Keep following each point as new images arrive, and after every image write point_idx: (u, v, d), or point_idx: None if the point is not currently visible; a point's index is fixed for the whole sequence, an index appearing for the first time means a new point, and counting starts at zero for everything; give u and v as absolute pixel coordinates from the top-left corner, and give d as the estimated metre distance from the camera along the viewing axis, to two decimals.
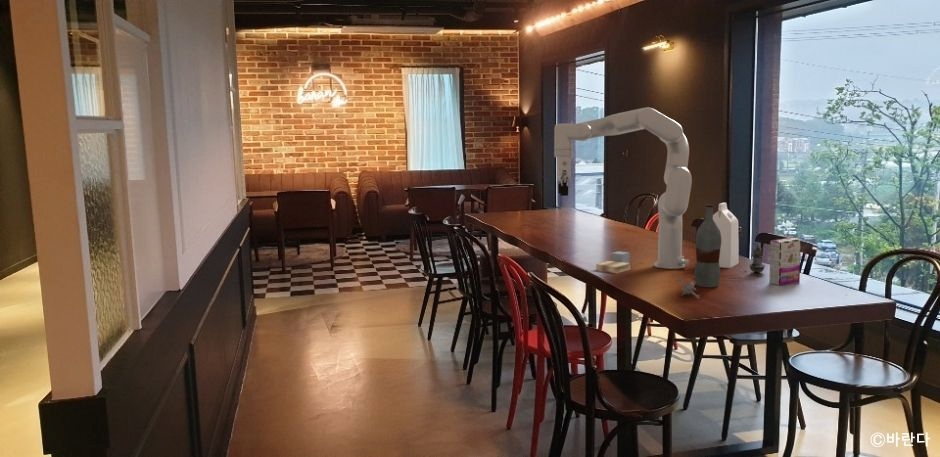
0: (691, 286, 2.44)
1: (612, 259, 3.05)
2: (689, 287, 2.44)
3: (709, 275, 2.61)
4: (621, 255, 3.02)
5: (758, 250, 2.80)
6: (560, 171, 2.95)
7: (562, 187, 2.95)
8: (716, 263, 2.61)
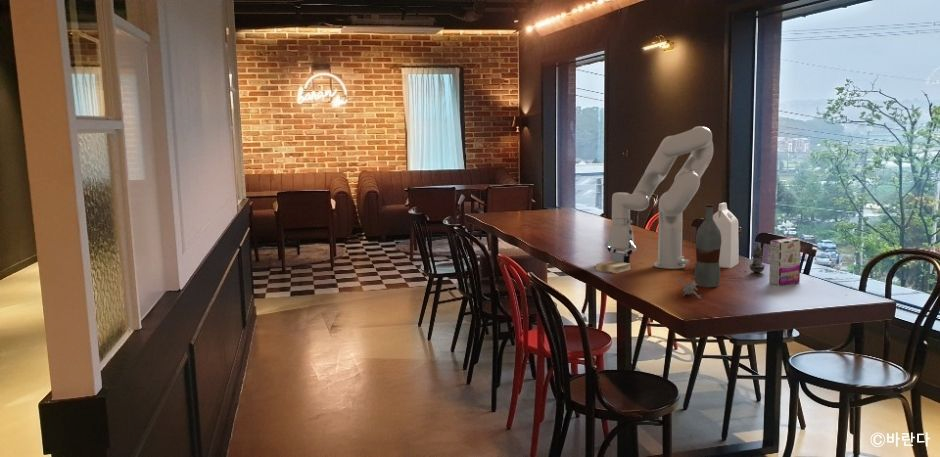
0: (693, 286, 2.44)
1: (612, 259, 3.05)
2: (691, 287, 2.44)
3: (709, 275, 2.61)
4: (621, 255, 3.02)
5: (758, 250, 2.80)
6: (628, 240, 3.00)
7: (626, 257, 3.02)
8: (716, 263, 2.61)
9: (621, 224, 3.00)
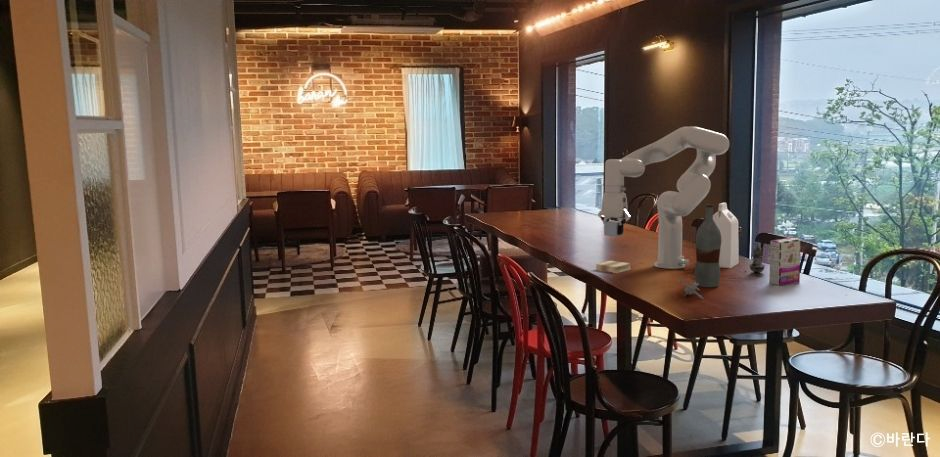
0: (695, 286, 2.44)
1: (605, 228, 2.94)
2: (693, 287, 2.44)
3: (709, 275, 2.61)
4: (614, 224, 2.90)
5: (758, 250, 2.80)
6: (622, 208, 2.88)
7: (620, 226, 2.91)
8: (716, 263, 2.61)
9: (614, 192, 2.88)
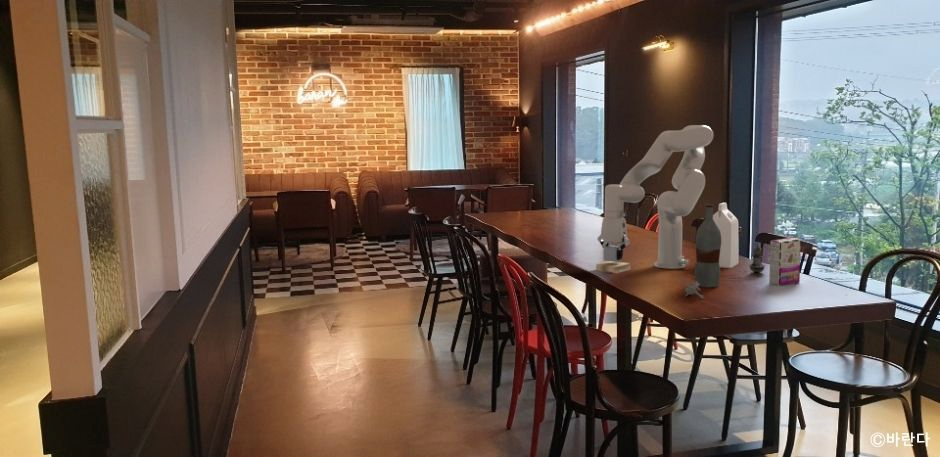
0: (696, 286, 2.43)
1: (604, 253, 2.95)
2: (694, 287, 2.43)
3: (709, 275, 2.61)
4: (614, 249, 2.92)
5: (758, 250, 2.80)
6: (621, 233, 2.90)
7: (619, 251, 2.92)
8: (716, 263, 2.61)
9: (614, 217, 2.90)
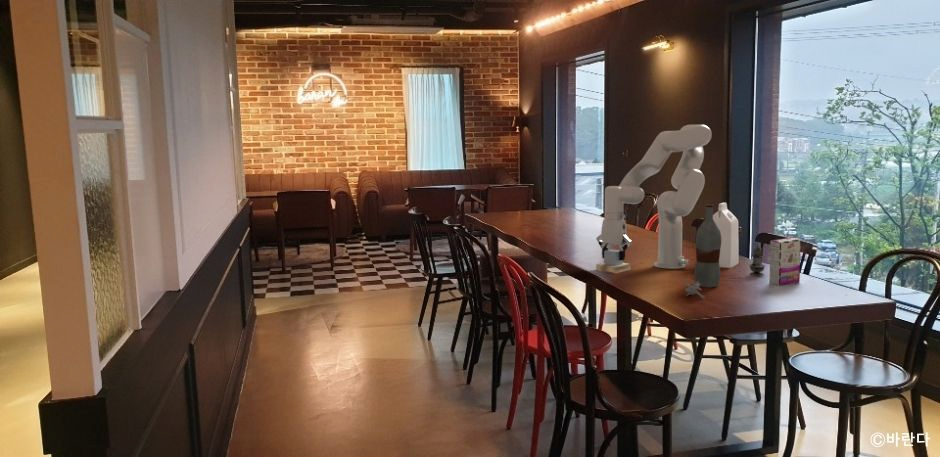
0: (697, 286, 2.43)
1: (605, 257, 2.95)
2: (695, 287, 2.43)
3: (709, 275, 2.61)
4: (614, 253, 2.92)
5: (758, 250, 2.80)
6: (621, 235, 2.90)
7: (622, 252, 2.92)
8: (716, 263, 2.61)
9: (614, 219, 2.90)
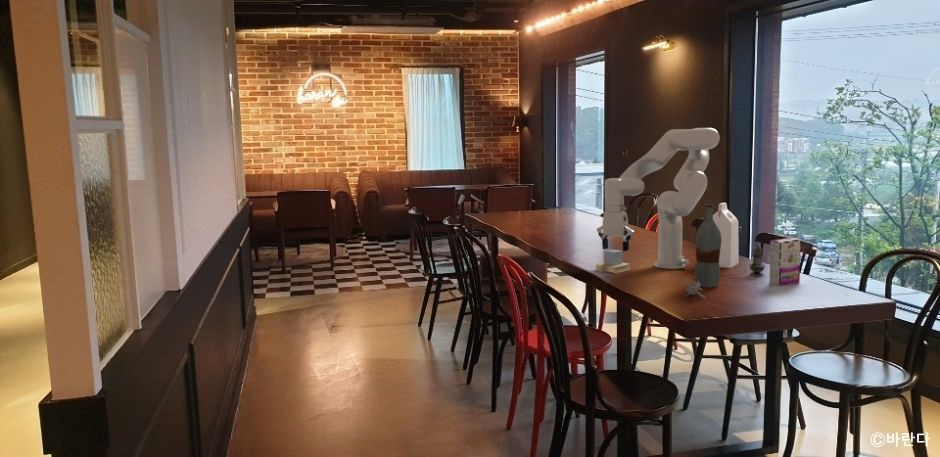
0: (697, 286, 2.43)
1: (605, 257, 2.95)
2: (695, 288, 2.43)
3: (709, 275, 2.61)
4: (614, 253, 2.92)
5: (758, 250, 2.80)
6: (623, 227, 2.90)
7: (625, 243, 2.91)
8: (716, 263, 2.61)
9: (615, 211, 2.90)
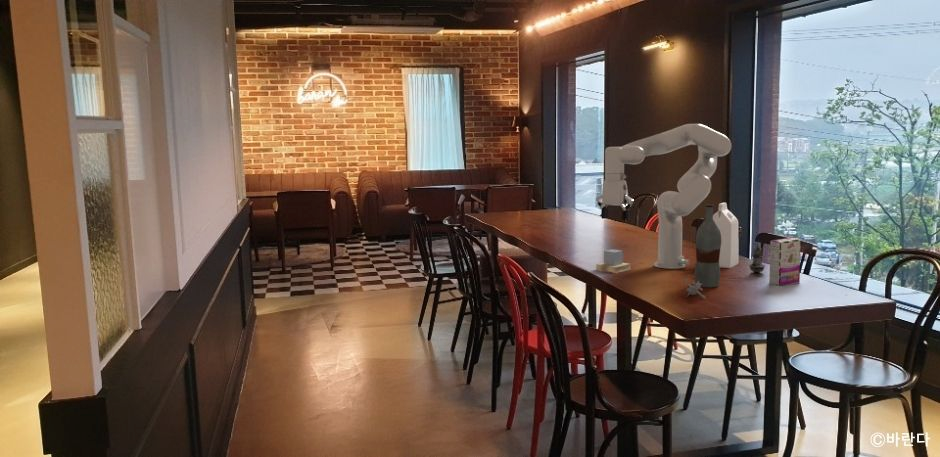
0: (698, 286, 2.43)
1: (605, 257, 2.96)
2: (696, 288, 2.43)
3: (709, 275, 2.61)
4: (614, 253, 2.92)
5: (758, 250, 2.80)
6: (622, 195, 2.88)
7: (625, 211, 2.89)
8: (716, 263, 2.61)
9: (615, 179, 2.88)
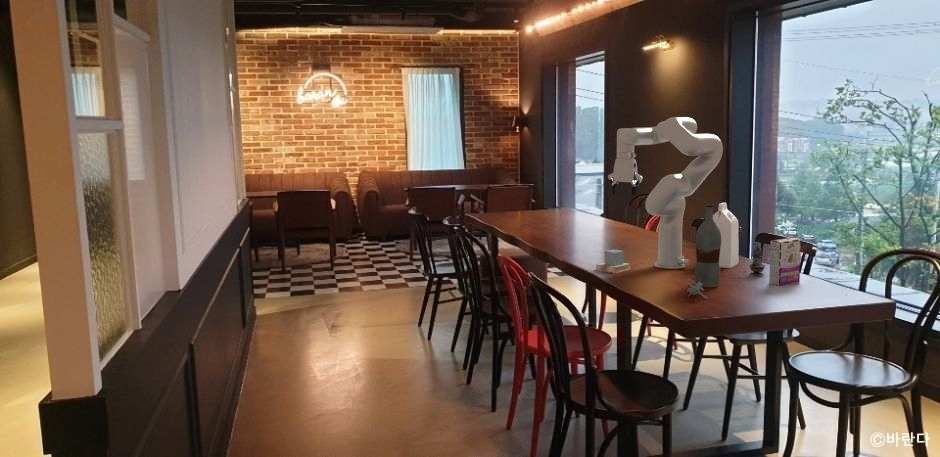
0: (699, 287, 2.43)
1: (605, 257, 2.95)
2: (697, 288, 2.43)
3: (709, 275, 2.61)
4: (614, 253, 2.92)
5: (758, 250, 2.80)
6: (632, 173, 3.14)
7: (634, 188, 3.15)
8: (716, 263, 2.61)
9: (626, 158, 3.14)
